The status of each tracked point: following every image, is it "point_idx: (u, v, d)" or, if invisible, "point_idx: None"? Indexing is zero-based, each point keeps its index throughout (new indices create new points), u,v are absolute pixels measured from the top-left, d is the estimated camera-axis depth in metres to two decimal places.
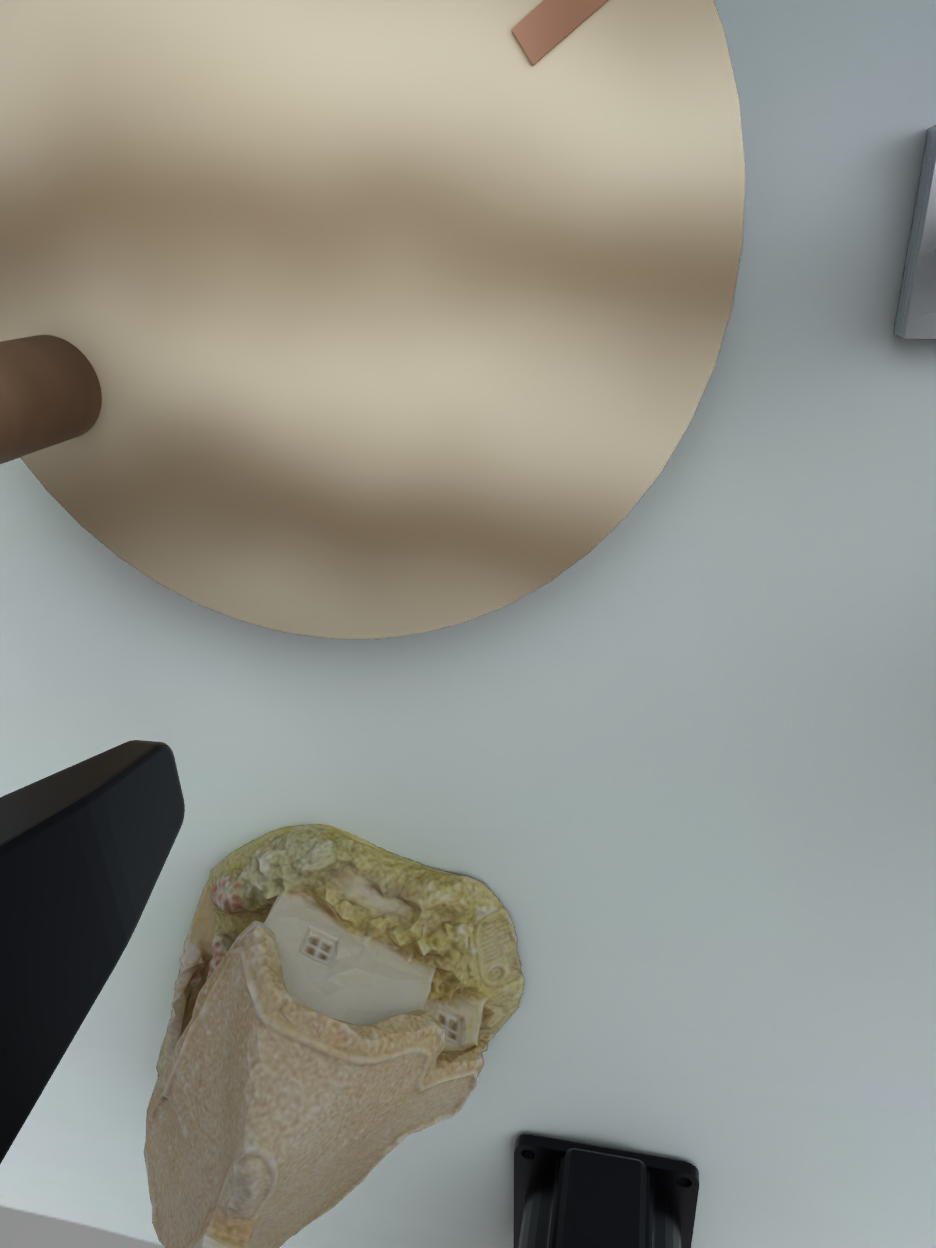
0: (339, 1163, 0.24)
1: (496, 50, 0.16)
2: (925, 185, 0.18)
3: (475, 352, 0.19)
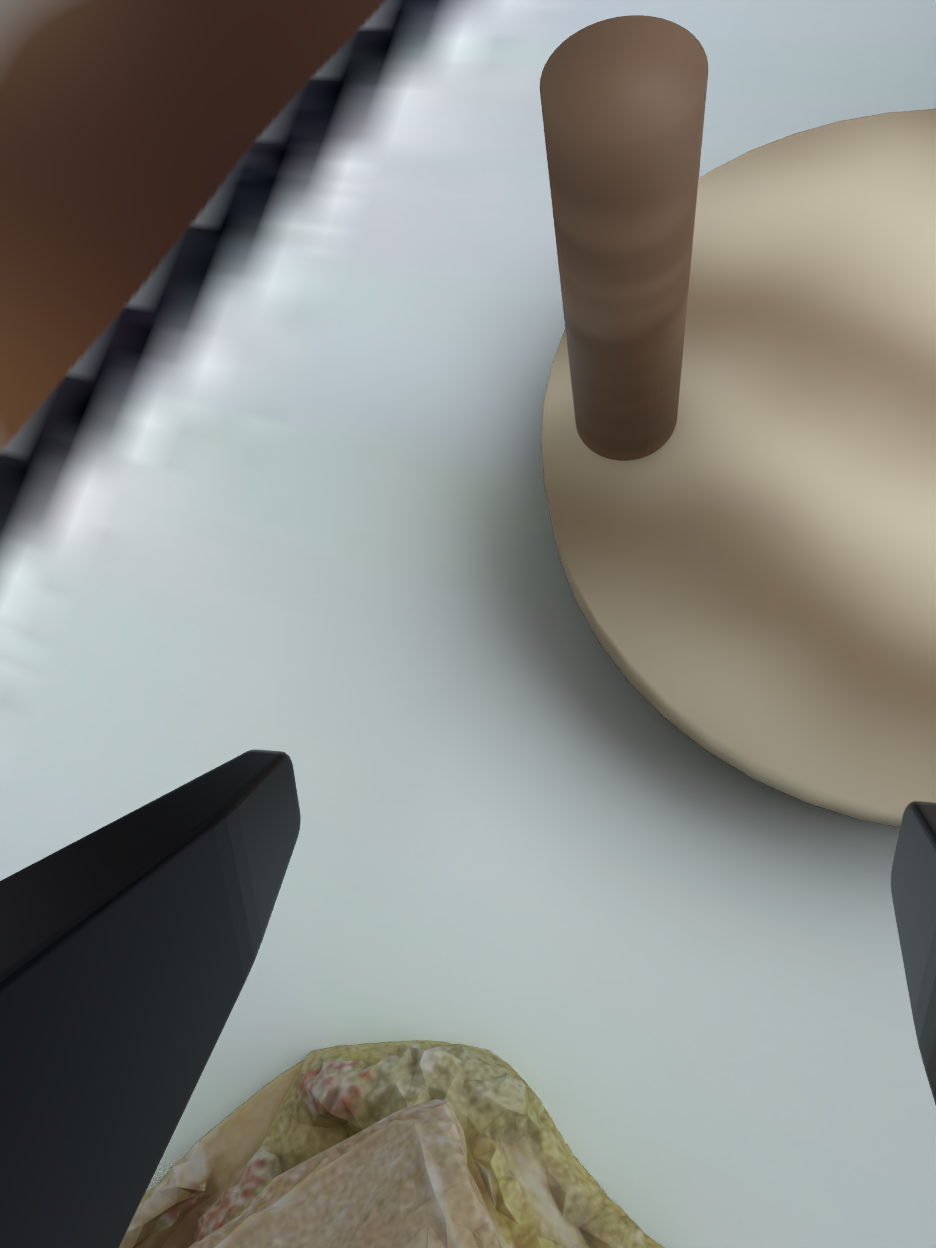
0: None
1: None
2: None
3: None
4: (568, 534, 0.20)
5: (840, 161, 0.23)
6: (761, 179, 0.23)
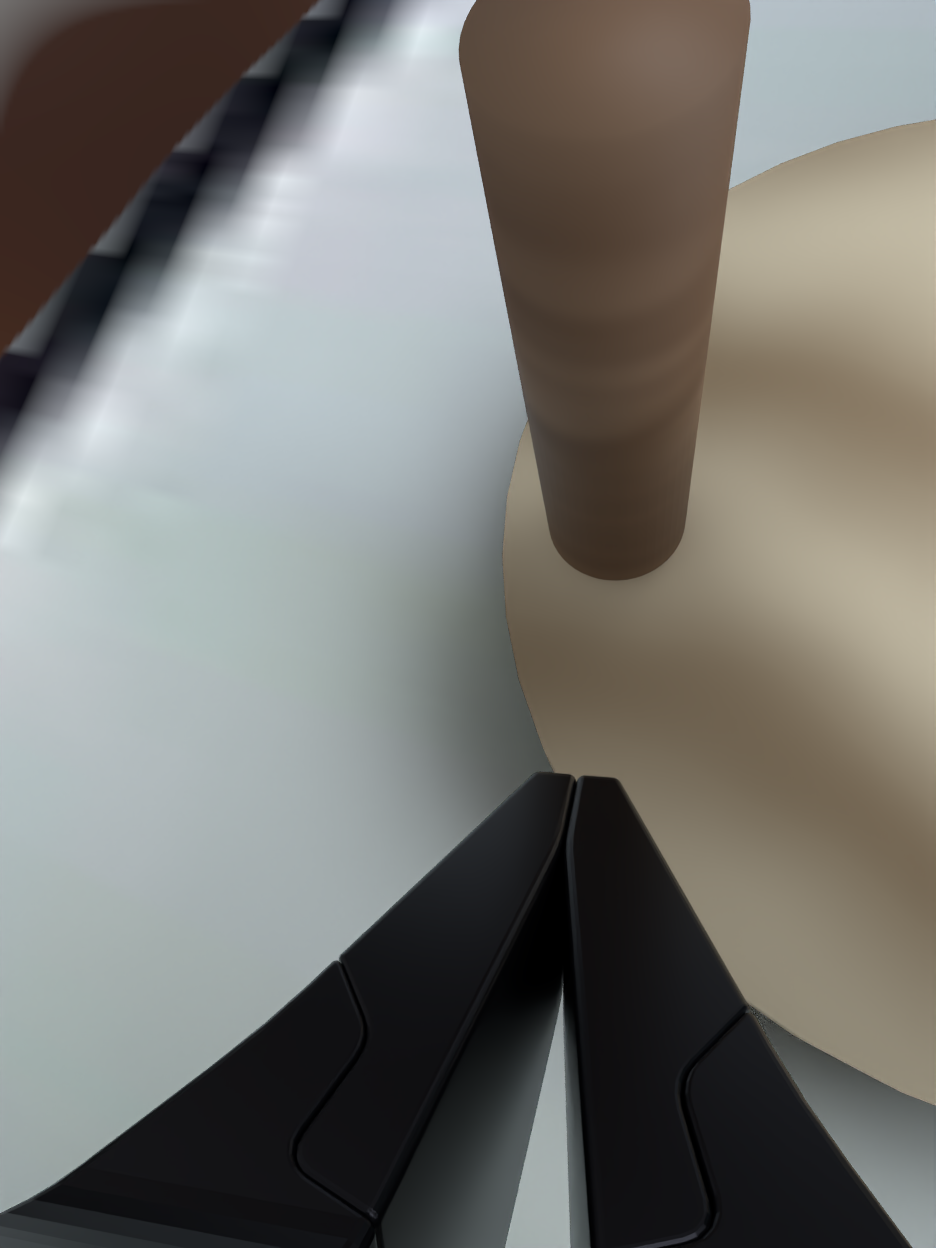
0: None
1: None
2: None
3: None
4: (536, 684, 0.15)
5: (900, 178, 0.17)
6: (796, 202, 0.17)
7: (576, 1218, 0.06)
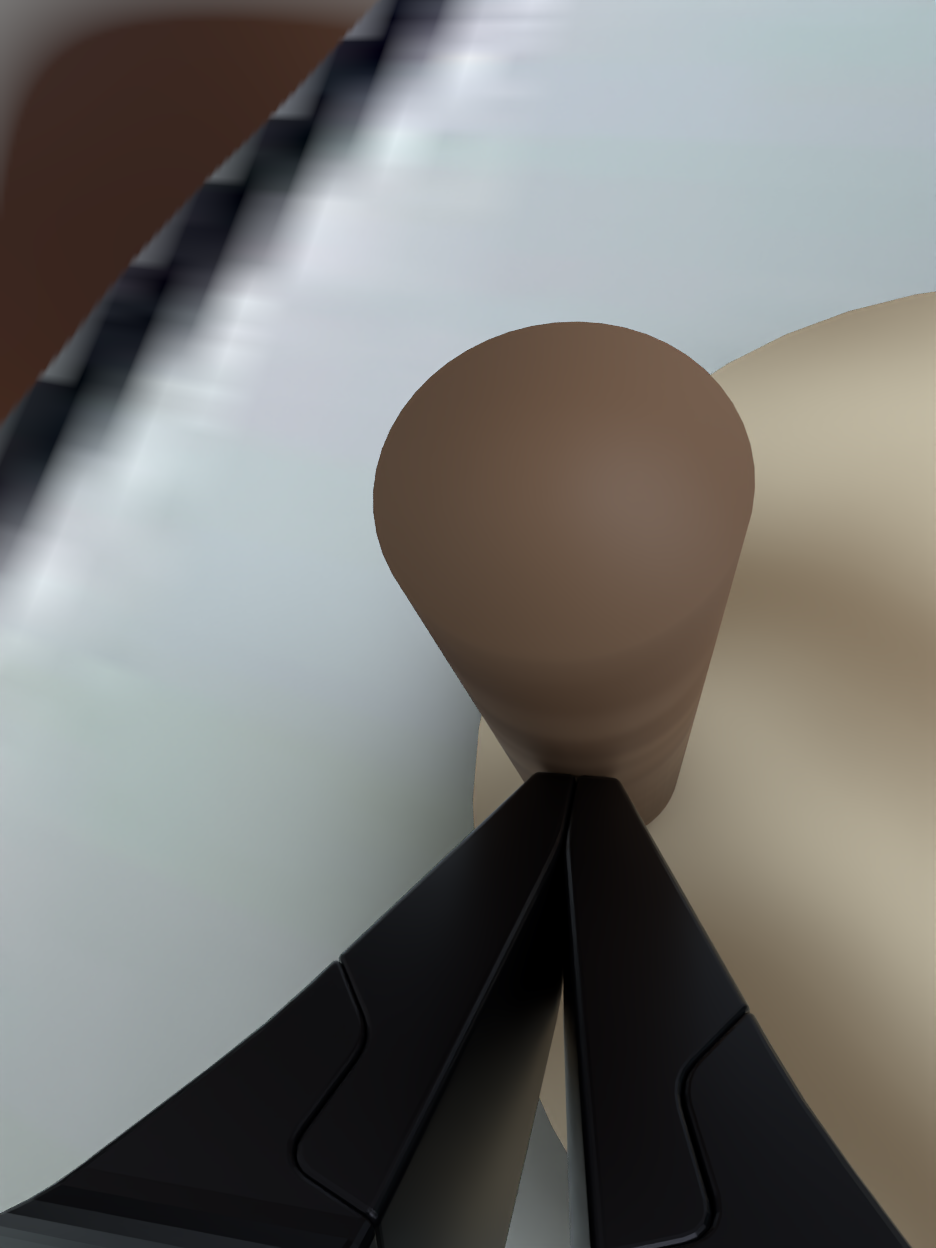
0: None
1: None
2: None
3: None
4: None
5: (919, 357, 0.15)
6: (803, 381, 0.16)
7: (576, 1218, 0.06)
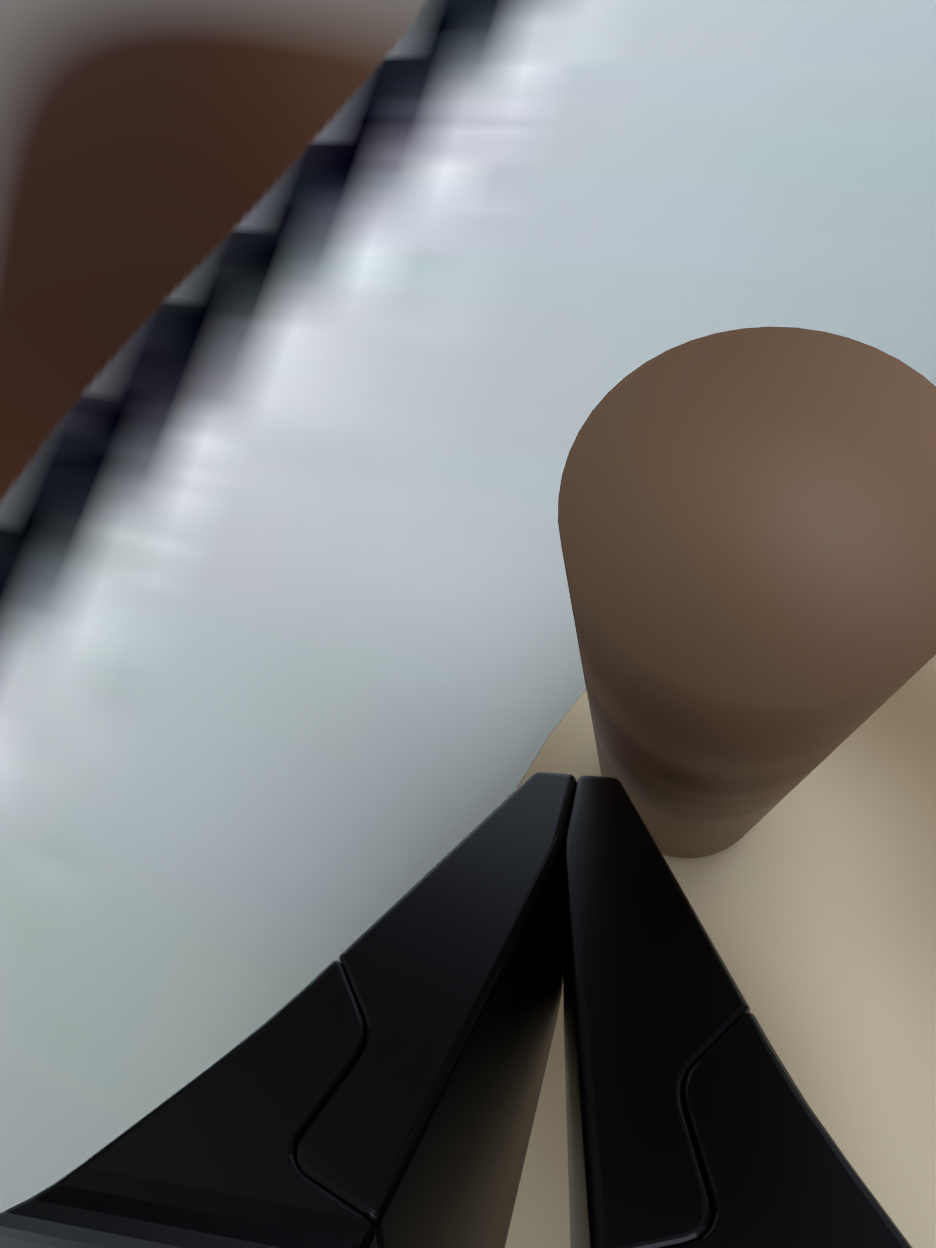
0: None
1: None
2: None
3: None
4: None
5: None
6: None
7: (576, 1217, 0.06)
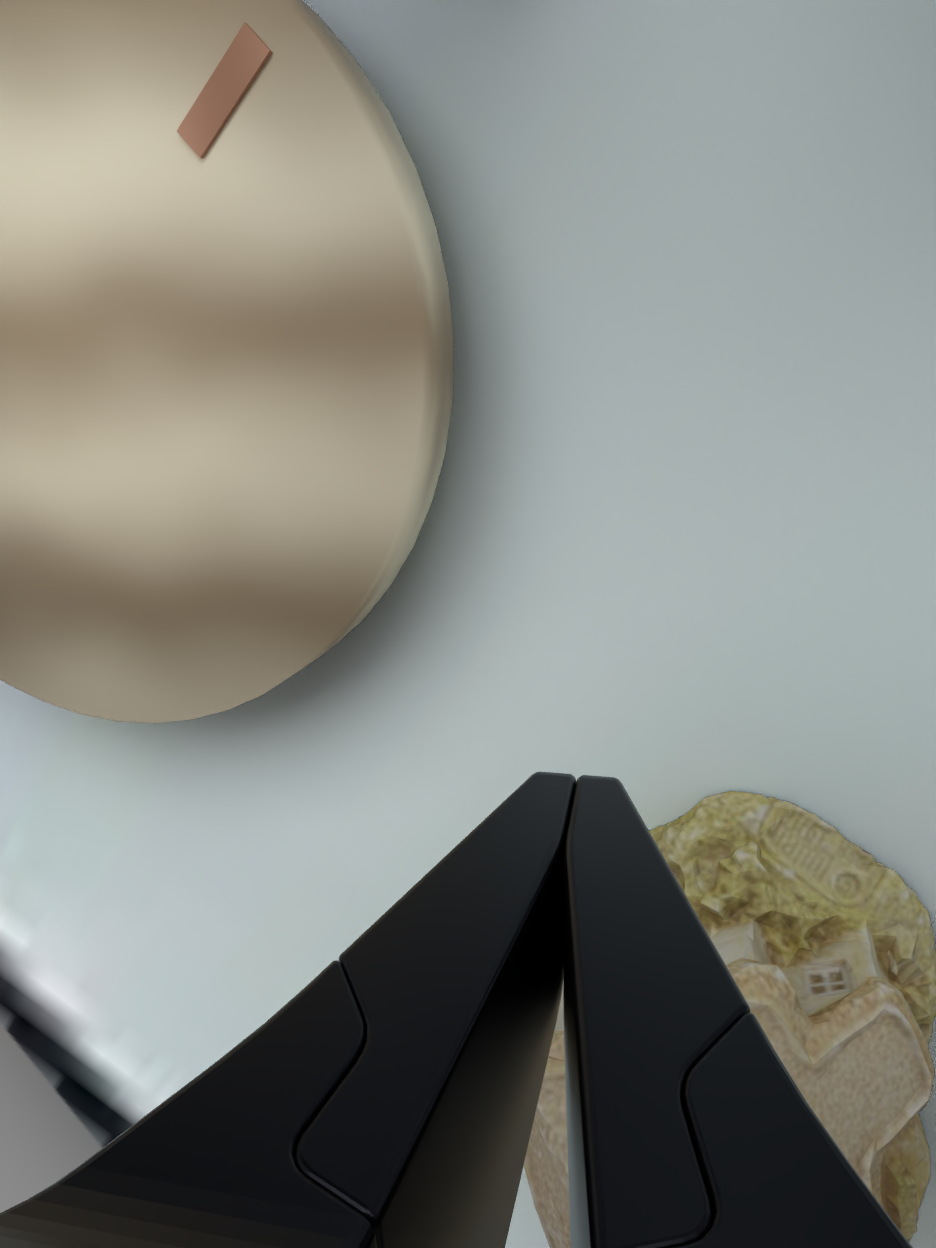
0: None
1: (171, 152, 0.18)
2: None
3: (214, 426, 0.19)
4: None
5: None
6: None
7: (576, 1218, 0.06)
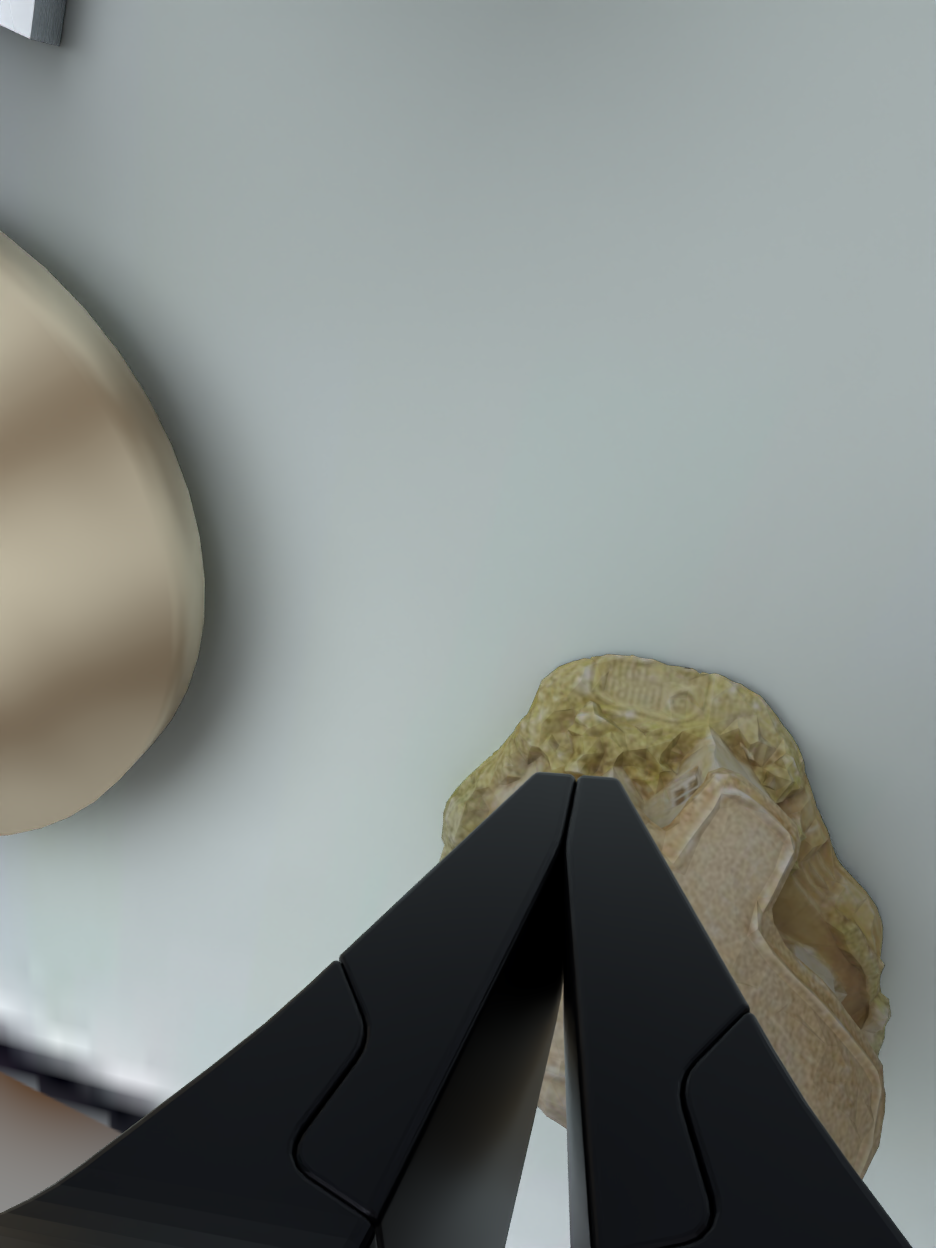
0: None
1: None
2: None
3: None
4: None
5: None
6: None
7: (576, 1218, 0.06)
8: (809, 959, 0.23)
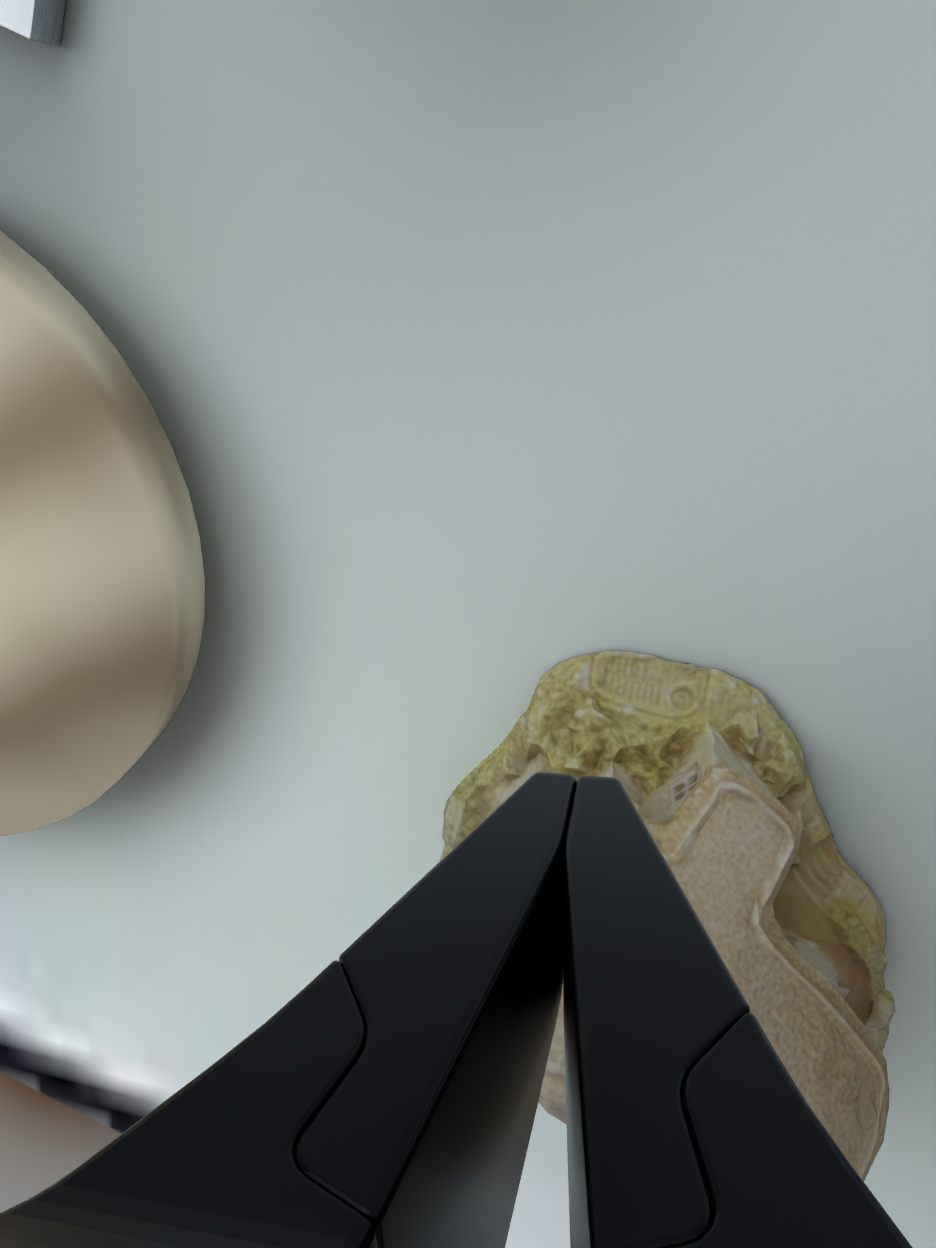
0: None
1: None
2: None
3: None
4: None
5: None
6: None
7: (576, 1218, 0.06)
8: (811, 955, 0.23)
